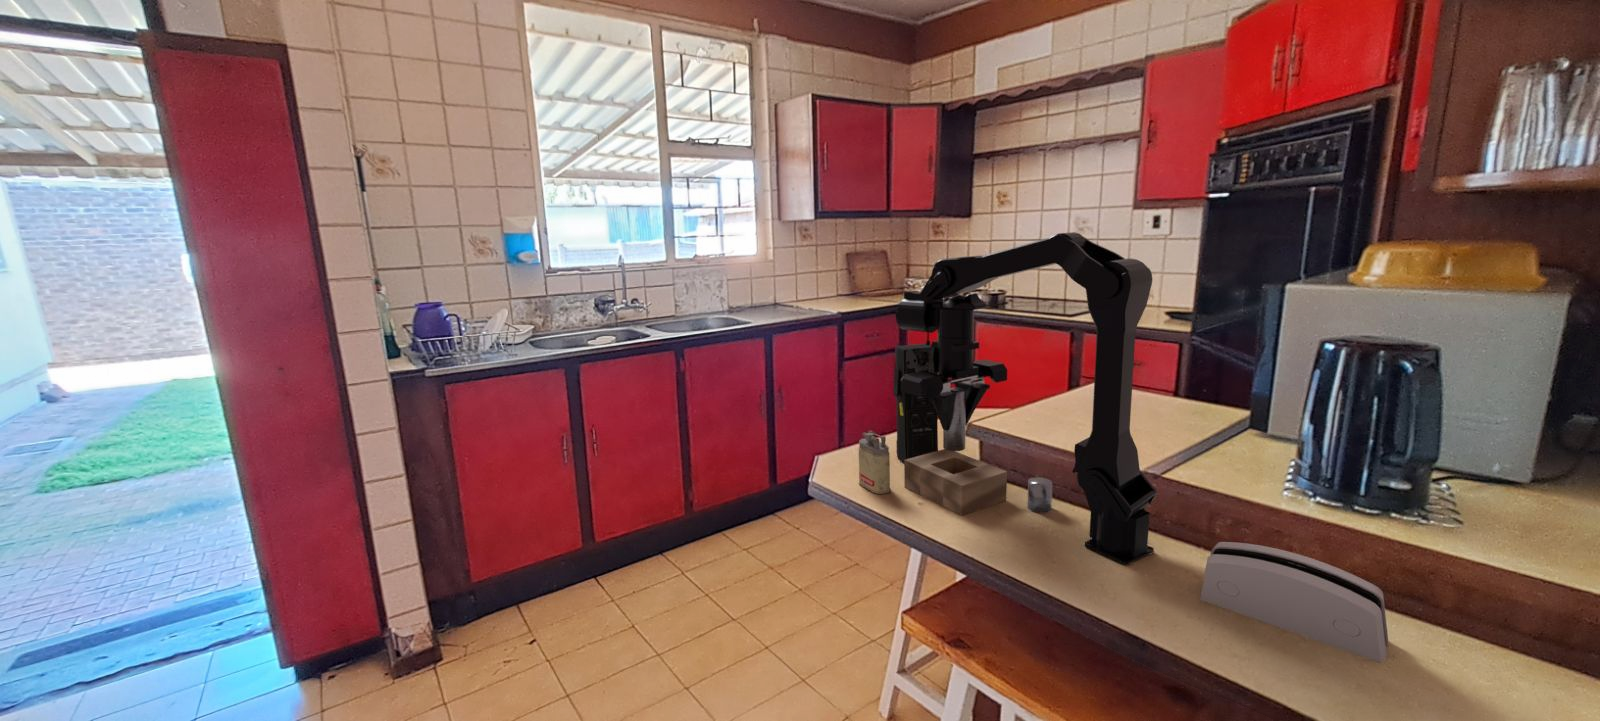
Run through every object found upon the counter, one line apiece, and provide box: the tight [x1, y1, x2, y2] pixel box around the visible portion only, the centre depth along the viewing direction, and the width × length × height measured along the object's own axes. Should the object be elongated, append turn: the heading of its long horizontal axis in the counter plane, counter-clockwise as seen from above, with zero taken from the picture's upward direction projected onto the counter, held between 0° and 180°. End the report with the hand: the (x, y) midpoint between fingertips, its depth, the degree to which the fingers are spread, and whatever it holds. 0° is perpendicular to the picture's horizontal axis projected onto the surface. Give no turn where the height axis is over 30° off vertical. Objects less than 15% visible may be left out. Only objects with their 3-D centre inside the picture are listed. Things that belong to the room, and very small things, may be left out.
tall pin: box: [942, 386, 967, 452], centre depth 106 cm, size 4×4×10 cm
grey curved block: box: [1200, 541, 1390, 664], centre depth 70 cm, size 17×5×10 cm, turn 42°
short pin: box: [1026, 476, 1053, 514], centre depth 102 cm, size 4×4×4 cm
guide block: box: [903, 448, 1008, 516], centre depth 108 cm, size 14×10×5 cm
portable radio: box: [893, 332, 939, 463], centre depth 122 cm, size 8×6×25 cm
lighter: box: [858, 430, 891, 495], centre depth 112 cm, size 7×4×10 cm, turn 28°
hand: (954, 427), depth 106 cm, fingers closed on tall pin, 4 cm apart
